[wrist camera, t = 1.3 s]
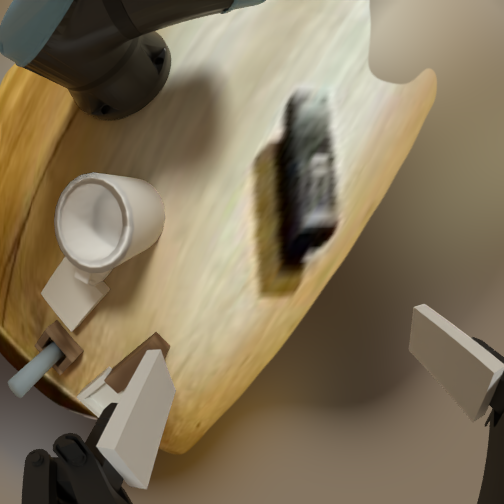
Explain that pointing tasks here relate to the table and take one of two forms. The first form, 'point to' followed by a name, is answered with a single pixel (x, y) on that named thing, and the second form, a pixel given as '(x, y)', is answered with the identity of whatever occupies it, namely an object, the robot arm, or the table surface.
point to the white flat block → (72, 295)
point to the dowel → (35, 370)
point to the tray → (99, 394)
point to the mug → (106, 222)
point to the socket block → (60, 345)
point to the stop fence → (134, 362)
